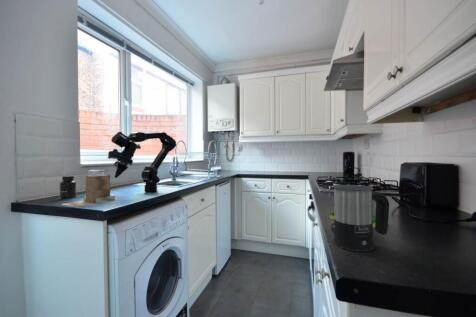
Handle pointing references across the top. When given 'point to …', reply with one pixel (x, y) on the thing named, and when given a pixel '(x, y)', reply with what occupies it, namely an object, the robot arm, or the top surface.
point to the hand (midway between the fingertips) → (115, 177)
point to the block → (97, 187)
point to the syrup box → (96, 172)
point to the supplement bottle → (67, 187)
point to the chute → (84, 203)
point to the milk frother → (358, 216)
